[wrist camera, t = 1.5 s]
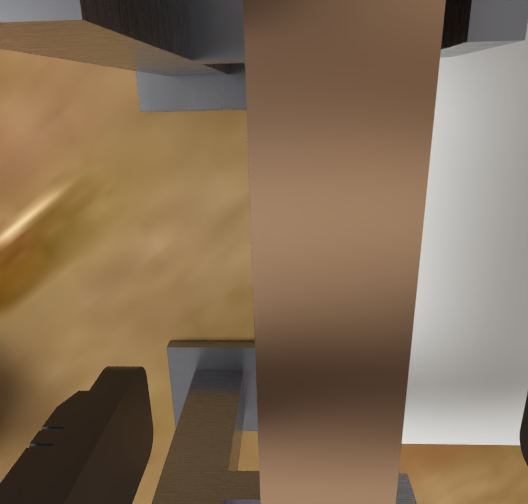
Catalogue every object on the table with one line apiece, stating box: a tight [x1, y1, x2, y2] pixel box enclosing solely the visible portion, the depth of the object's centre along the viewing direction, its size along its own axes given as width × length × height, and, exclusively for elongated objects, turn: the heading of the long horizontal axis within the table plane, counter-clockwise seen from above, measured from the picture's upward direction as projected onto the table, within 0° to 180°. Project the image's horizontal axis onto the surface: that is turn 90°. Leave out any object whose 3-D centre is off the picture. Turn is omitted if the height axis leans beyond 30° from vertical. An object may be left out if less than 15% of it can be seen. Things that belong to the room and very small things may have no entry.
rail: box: [243, 0, 446, 504], centre depth 11 cm, size 20×3×3 cm, turn 1°
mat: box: [402, 24, 528, 445], centre depth 19 cm, size 24×9×1 cm, turn 1°
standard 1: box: [152, 341, 417, 504], centre depth 16 cm, size 5×10×14 cm, turn 91°
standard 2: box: [0, 0, 528, 112], centre depth 11 cm, size 5×10×14 cm, turn 91°
